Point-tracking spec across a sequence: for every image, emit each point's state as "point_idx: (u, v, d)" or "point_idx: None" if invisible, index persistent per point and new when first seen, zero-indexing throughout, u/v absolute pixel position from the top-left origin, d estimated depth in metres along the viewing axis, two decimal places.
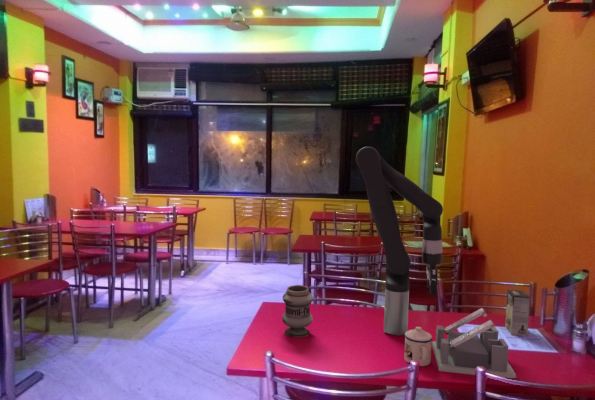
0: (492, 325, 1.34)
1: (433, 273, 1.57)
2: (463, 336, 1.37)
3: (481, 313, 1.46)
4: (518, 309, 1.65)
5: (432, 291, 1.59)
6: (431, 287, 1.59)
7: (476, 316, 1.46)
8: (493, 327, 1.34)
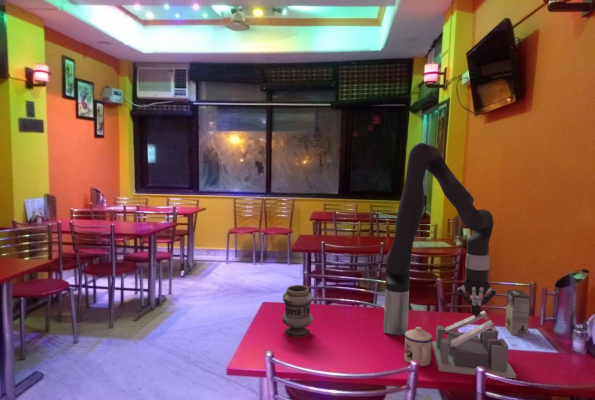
0: (492, 325, 1.34)
1: None
2: (463, 336, 1.37)
3: (483, 316, 1.46)
4: (518, 309, 1.65)
5: None
6: (480, 307, 1.47)
7: (477, 318, 1.46)
8: (493, 327, 1.34)
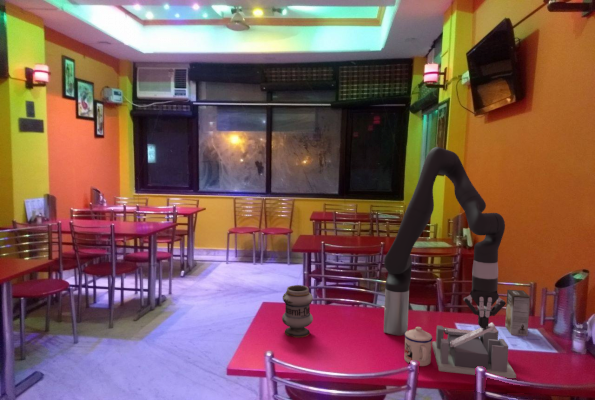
0: (494, 328, 1.34)
1: None
2: (464, 337, 1.37)
3: None
4: (518, 309, 1.65)
5: None
6: (488, 318, 1.35)
7: (481, 336, 1.46)
8: (494, 330, 1.34)
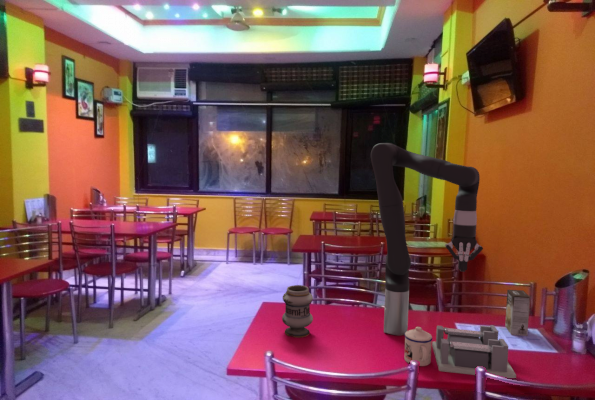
0: None
1: None
2: (467, 345, 1.37)
3: None
4: (518, 309, 1.65)
5: None
6: None
7: (481, 336, 1.46)
8: None
